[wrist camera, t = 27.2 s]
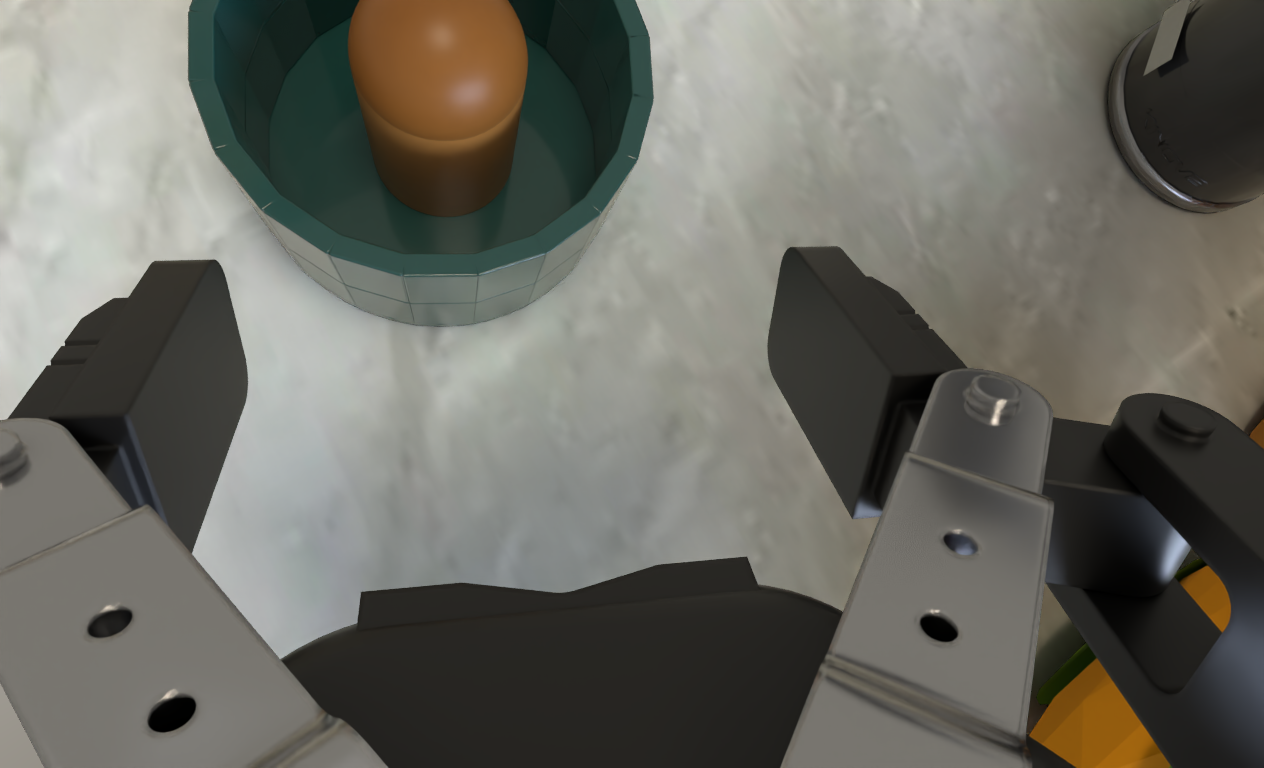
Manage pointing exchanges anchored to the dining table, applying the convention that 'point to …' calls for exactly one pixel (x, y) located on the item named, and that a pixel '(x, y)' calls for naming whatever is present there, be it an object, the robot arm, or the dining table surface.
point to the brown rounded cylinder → (440, 97)
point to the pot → (352, 189)
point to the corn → (1112, 697)
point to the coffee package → (1258, 434)
